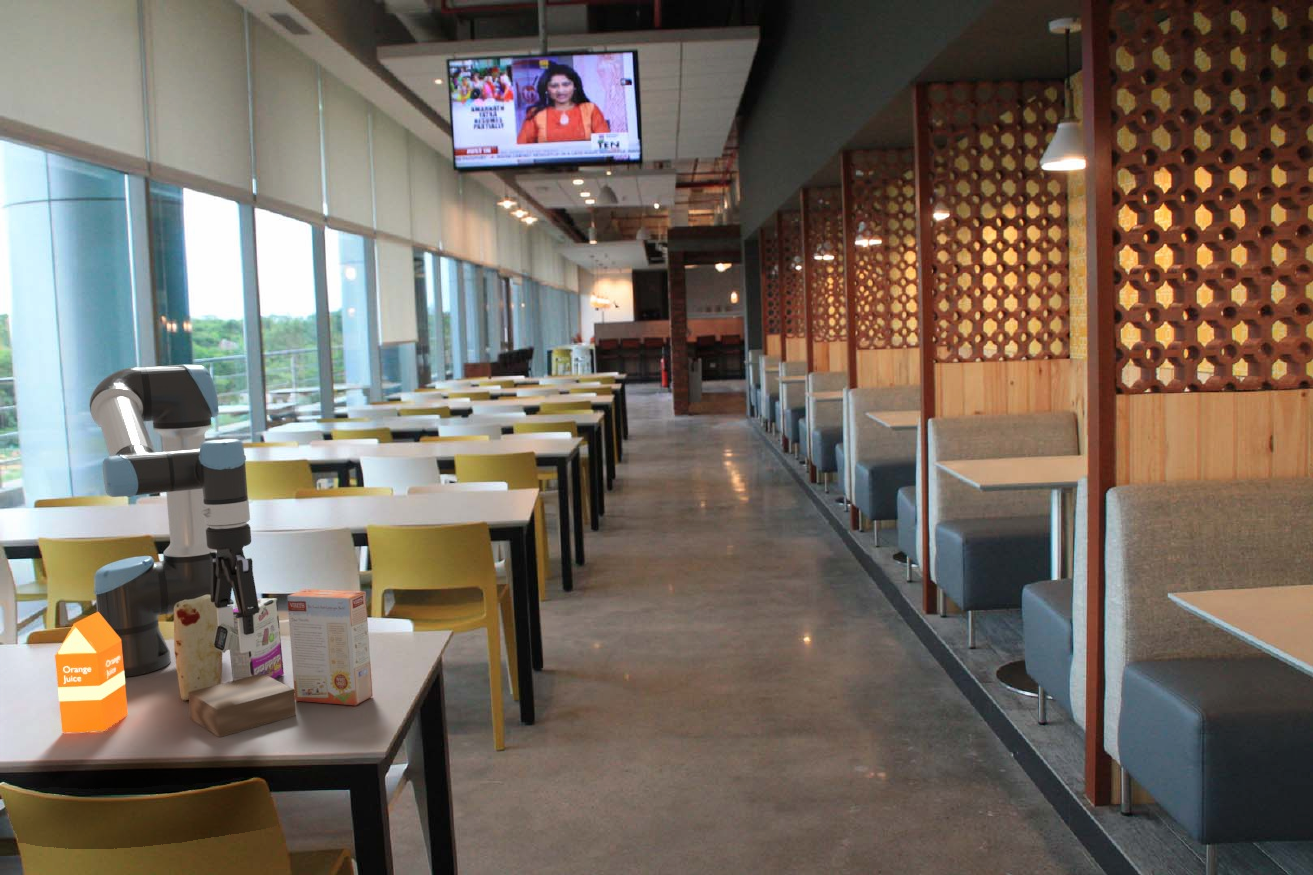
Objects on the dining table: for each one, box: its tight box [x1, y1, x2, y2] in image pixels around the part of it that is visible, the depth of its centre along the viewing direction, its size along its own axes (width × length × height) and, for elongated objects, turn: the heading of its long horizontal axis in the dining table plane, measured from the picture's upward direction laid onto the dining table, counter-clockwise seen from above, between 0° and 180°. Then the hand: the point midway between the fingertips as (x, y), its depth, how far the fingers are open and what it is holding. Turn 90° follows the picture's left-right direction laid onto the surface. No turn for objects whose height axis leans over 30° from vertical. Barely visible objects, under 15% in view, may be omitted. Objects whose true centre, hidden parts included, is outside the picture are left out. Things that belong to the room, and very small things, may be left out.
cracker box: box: [286, 588, 373, 706], centre depth 201 cm, size 14×6×21 cm, turn 71°
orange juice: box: [54, 611, 129, 733], centre depth 193 cm, size 8×9×20 cm
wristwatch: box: [213, 623, 256, 654], centre depth 192 cm, size 9×6×5 cm
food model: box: [173, 595, 223, 701], centre depth 206 cm, size 10×7×20 cm
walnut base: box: [188, 673, 297, 738], centre depth 194 cm, size 14×14×5 cm
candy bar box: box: [229, 597, 285, 681], centre depth 212 cm, size 11×5×16 cm, turn 169°
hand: (237, 645), depth 193 cm, fingers closed on wristwatch, 9 cm apart
